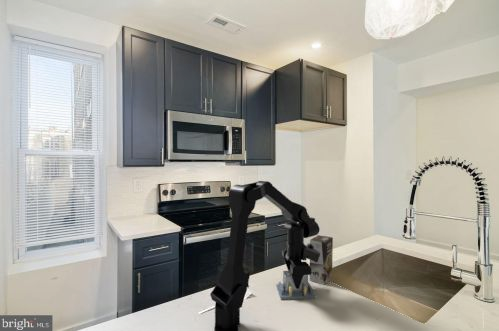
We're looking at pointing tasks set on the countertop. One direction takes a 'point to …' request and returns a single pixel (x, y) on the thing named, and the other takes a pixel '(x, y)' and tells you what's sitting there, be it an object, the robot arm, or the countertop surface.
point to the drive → (289, 282)
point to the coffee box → (322, 259)
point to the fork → (214, 306)
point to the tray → (295, 295)
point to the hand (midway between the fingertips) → (295, 283)
